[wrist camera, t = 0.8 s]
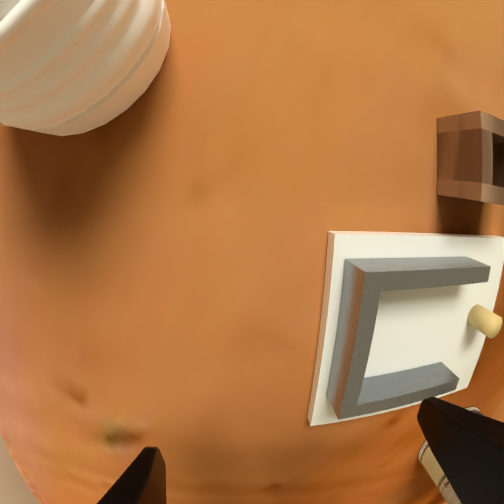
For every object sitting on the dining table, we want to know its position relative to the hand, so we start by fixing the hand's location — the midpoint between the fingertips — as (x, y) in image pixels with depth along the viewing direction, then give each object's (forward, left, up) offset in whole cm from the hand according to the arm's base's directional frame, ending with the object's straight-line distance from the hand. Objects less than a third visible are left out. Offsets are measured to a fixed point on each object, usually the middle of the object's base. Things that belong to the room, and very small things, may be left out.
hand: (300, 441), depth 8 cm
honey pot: (+12, -18, -13) cm, 25 cm away
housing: (-11, +2, -11) cm, 16 cm away
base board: (-14, +3, -13) cm, 19 cm away
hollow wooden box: (-17, -11, -13) cm, 24 cm away
